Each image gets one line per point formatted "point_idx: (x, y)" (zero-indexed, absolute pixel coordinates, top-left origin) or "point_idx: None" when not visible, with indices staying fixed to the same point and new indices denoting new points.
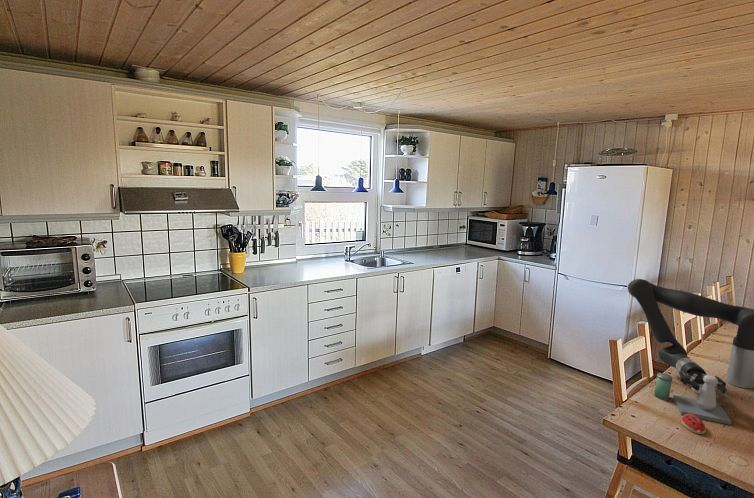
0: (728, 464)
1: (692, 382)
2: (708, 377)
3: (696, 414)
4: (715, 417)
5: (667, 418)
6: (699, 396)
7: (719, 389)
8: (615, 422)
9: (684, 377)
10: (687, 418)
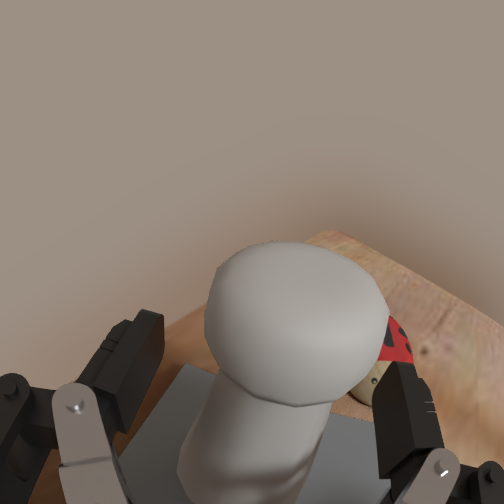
0: (340, 250)
1: (431, 440)
2: (354, 266)
3: (338, 415)
4: None
5: (446, 400)
6: (312, 462)
7: (140, 393)
8: None
9: (498, 497)
10: (408, 342)
